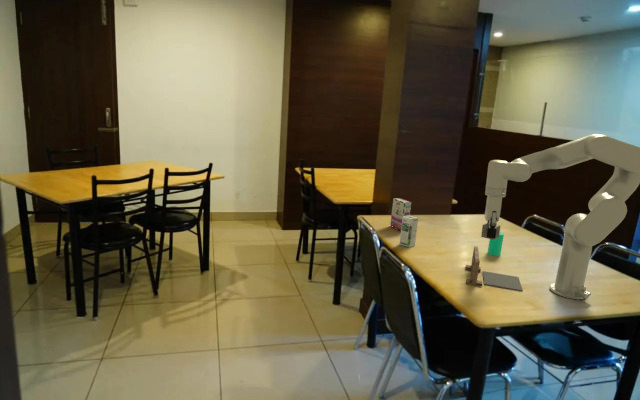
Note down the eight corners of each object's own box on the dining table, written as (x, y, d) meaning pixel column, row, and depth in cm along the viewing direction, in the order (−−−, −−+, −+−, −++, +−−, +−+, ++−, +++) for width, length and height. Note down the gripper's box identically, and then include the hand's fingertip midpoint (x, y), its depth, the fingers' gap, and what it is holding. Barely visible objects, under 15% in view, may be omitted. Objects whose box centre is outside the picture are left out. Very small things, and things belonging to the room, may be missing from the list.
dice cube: (499, 237, 171) (500, 225, 170) (493, 239, 168) (494, 227, 166) (487, 234, 174) (488, 222, 173) (481, 236, 171) (482, 224, 170)
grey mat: (518, 278, 178) (518, 276, 178) (522, 291, 165) (522, 290, 165) (482, 272, 182) (482, 271, 182) (484, 284, 169) (484, 283, 169)
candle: (501, 256, 203) (505, 232, 200) (488, 254, 204) (492, 231, 201) (499, 252, 209) (503, 228, 206) (486, 250, 210) (490, 227, 207)
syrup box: (398, 244, 211) (401, 216, 207) (405, 242, 215) (408, 214, 211) (408, 247, 207) (411, 219, 203) (415, 245, 211) (418, 217, 208)
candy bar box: (408, 231, 234) (412, 202, 230) (401, 232, 232) (404, 202, 228) (397, 225, 244) (400, 197, 240) (389, 226, 241) (392, 198, 238)
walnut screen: (465, 266, 187) (468, 245, 184) (479, 269, 185) (483, 247, 183) (465, 284, 168) (469, 260, 166) (482, 287, 166) (485, 263, 164)
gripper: (484, 187, 176) (479, 228, 180) (486, 195, 160) (481, 240, 164) (503, 188, 174) (498, 230, 178) (508, 196, 158) (502, 243, 162)
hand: (490, 235), depth 171 cm, fingers closed on dice cube, 6 cm apart
